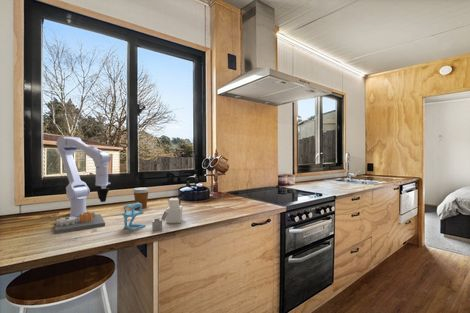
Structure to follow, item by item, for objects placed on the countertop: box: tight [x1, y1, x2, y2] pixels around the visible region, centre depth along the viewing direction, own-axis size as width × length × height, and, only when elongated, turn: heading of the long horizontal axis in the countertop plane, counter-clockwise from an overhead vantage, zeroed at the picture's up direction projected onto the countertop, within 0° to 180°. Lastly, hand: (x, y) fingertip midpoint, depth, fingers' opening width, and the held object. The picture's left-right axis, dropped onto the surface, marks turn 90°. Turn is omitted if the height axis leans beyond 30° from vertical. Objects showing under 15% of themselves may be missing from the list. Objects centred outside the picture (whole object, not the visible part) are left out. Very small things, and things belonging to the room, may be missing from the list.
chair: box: [122, 202, 146, 232], centre depth 111 cm, size 8×8×12 cm
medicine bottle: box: [165, 196, 183, 224], centre depth 122 cm, size 7×7×12 cm
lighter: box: [151, 210, 168, 232], centre depth 110 cm, size 7×2×8 cm, turn 125°
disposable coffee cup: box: [132, 186, 150, 210], centre depth 149 cm, size 10×10×12 cm
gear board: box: [55, 210, 106, 234], centre depth 115 cm, size 18×19×4 cm
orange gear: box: [79, 211, 94, 222], centre depth 116 cm, size 6×6×4 cm
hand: (102, 200), depth 125 cm, fingers open, 7 cm apart
